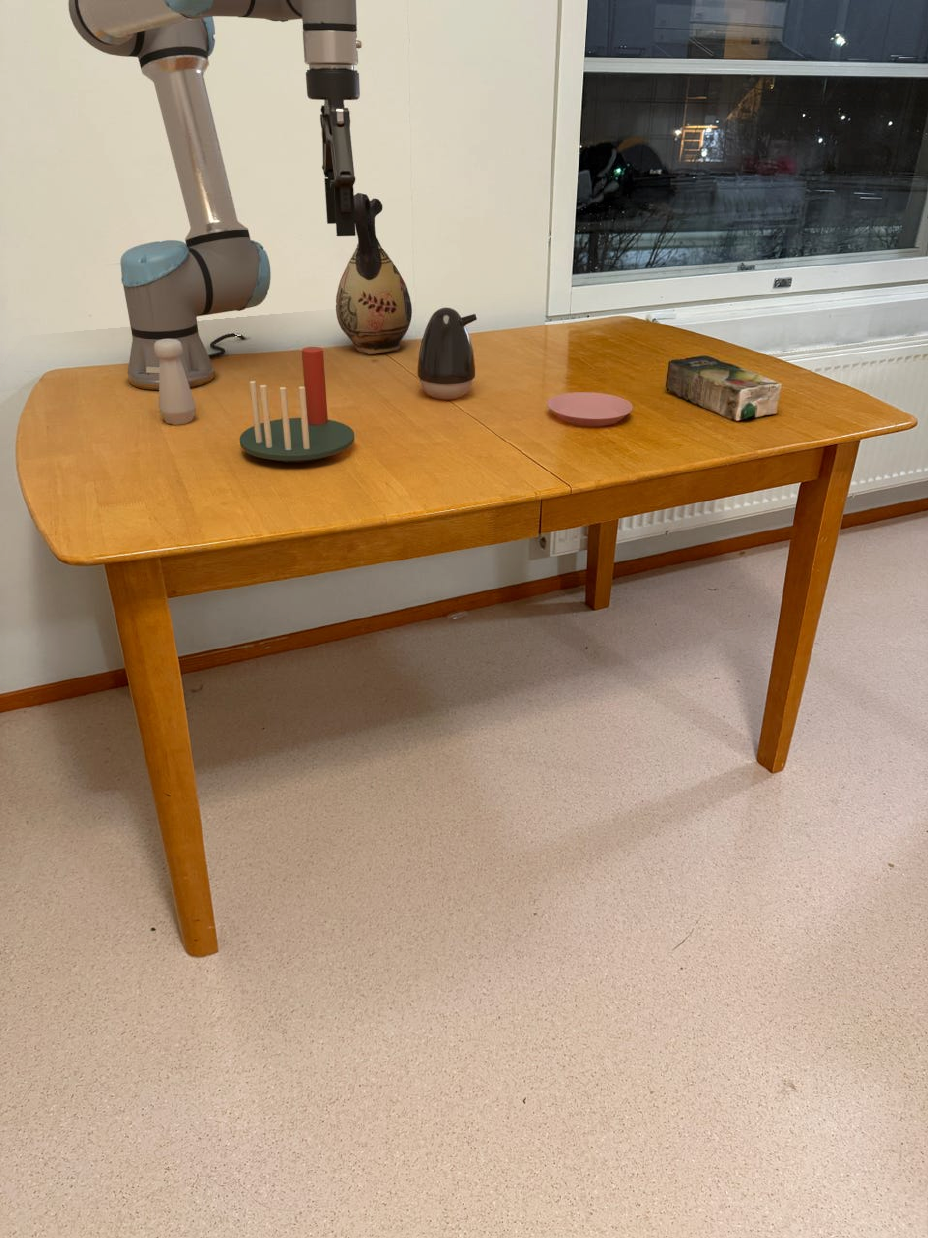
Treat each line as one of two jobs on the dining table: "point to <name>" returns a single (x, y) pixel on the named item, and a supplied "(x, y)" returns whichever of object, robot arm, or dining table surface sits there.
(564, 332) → the dining table surface
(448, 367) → the pump dispenser
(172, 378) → the salt shaker
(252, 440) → the drying rack
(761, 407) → the juice carton
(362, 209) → the ceramic jug
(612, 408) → the plate
